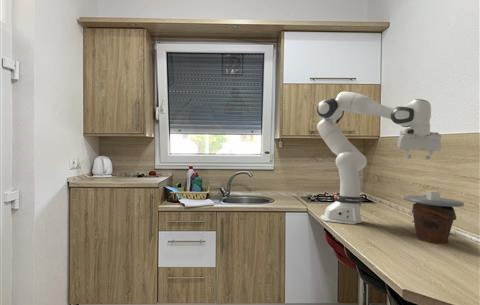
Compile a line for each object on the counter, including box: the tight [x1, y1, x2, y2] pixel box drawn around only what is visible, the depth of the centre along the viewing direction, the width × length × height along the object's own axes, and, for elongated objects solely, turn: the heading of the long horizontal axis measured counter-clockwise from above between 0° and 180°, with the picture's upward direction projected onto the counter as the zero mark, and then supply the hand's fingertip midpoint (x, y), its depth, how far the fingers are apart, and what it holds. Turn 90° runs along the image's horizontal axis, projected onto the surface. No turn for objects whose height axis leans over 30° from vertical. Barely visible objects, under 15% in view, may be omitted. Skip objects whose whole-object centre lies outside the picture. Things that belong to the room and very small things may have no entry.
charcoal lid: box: [403, 190, 465, 208], centre depth 154 cm, size 24×24×5 cm
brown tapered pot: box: [411, 202, 457, 244], centre depth 155 cm, size 18×20×18 cm
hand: (418, 159), depth 167 cm, fingers open, 8 cm apart
